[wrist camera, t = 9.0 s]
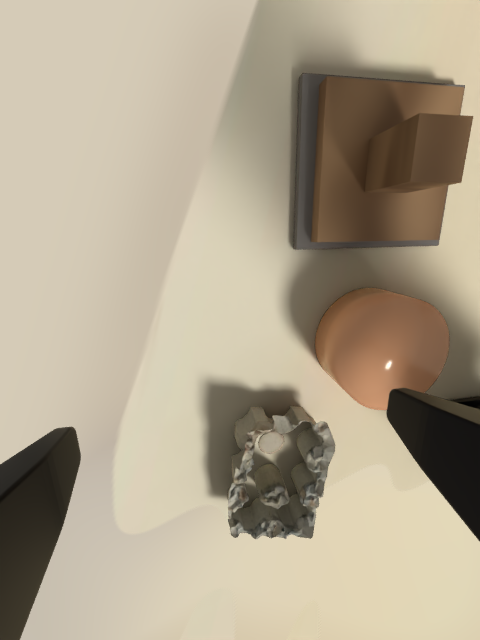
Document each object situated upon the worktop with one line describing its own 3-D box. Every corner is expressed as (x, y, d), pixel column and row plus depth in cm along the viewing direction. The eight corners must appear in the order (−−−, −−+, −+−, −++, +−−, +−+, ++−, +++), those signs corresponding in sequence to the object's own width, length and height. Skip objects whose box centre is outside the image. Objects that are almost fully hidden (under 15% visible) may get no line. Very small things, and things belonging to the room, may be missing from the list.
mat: (456, 89, 20) (464, 85, 19) (432, 245, 22) (438, 245, 22) (299, 78, 18) (302, 72, 17) (293, 249, 20) (296, 249, 20)
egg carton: (235, 399, 23) (245, 432, 19) (322, 403, 25) (347, 433, 21) (218, 508, 26) (224, 555, 22) (297, 505, 27) (316, 549, 24)
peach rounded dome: (414, 285, 23) (459, 295, 19) (400, 377, 25) (438, 403, 21) (318, 290, 22) (346, 301, 18) (312, 387, 24) (336, 416, 20)
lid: (450, 94, 19) (538, 47, 14) (427, 239, 21) (496, 240, 17) (319, 84, 17) (369, 28, 13) (311, 241, 20) (350, 243, 15)
